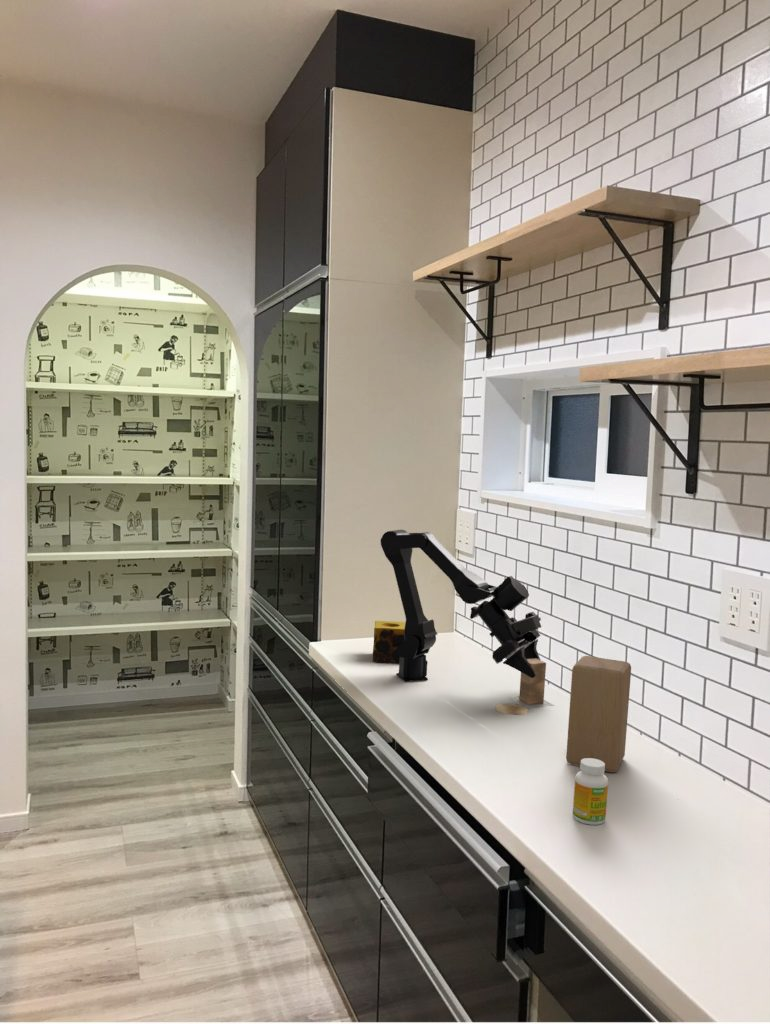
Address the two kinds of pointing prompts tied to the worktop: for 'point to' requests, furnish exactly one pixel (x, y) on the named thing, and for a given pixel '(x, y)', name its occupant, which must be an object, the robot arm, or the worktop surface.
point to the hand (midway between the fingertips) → (538, 674)
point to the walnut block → (533, 683)
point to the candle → (387, 641)
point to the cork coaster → (511, 709)
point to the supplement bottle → (590, 792)
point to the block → (598, 711)
